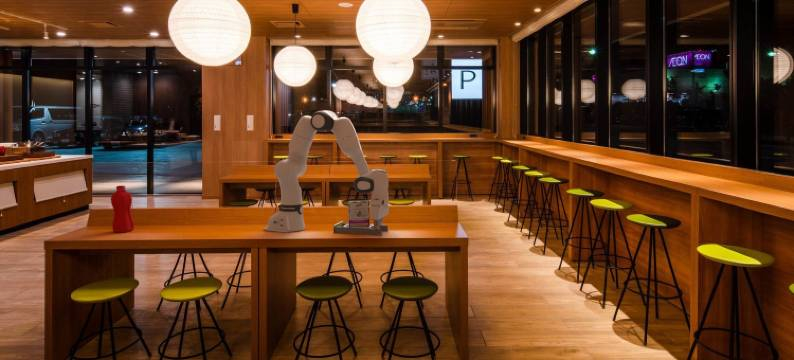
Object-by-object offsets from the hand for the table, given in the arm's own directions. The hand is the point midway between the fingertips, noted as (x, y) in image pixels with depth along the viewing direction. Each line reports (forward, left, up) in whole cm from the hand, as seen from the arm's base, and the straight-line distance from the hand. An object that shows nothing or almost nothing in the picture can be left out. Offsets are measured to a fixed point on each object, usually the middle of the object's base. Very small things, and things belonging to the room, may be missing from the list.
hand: (380, 225), depth 281 cm
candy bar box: (-12, 0, -4) cm, 13 cm away
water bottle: (-136, -32, -4) cm, 139 cm away
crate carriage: (-10, 0, -4) cm, 11 cm away
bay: (-11, 0, -4) cm, 12 cm away
